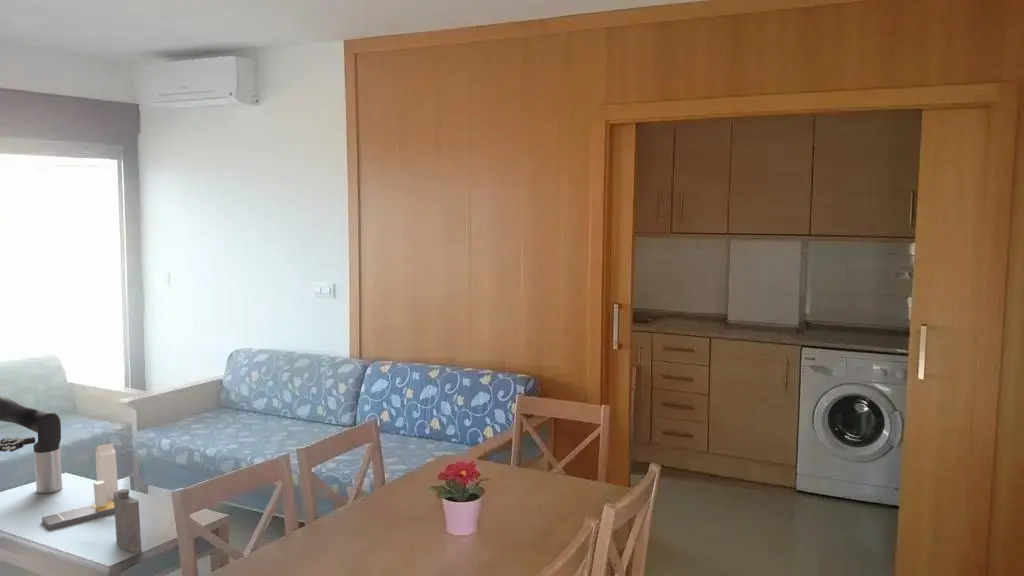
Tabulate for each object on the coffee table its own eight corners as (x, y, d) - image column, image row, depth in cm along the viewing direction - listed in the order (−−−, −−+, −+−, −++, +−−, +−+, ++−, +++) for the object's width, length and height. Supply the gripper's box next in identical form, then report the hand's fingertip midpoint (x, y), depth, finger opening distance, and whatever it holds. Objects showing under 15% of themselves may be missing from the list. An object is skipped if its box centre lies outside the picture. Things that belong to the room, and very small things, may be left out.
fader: (95, 505, 309) (93, 482, 308) (103, 503, 311) (101, 480, 310) (98, 507, 306) (96, 484, 305) (106, 505, 308) (105, 482, 307)
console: (42, 522, 299) (41, 516, 299) (116, 504, 317) (115, 498, 317) (49, 530, 292) (49, 524, 292) (125, 510, 310) (124, 505, 310)
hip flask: (143, 551, 274) (139, 494, 271) (130, 554, 271) (127, 497, 269) (124, 538, 284) (121, 483, 282) (112, 541, 281) (108, 486, 279)
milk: (118, 498, 324) (115, 445, 321) (102, 502, 319) (99, 448, 317) (113, 494, 328) (110, 441, 326) (97, 498, 324) (94, 444, 322)
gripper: (-17, 443, 285) (38, 433, 297) (-25, 436, 294) (29, 426, 306) (-15, 464, 286) (40, 453, 298) (-23, 456, 295) (30, 445, 307)
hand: (34, 439), depth 302 cm, fingers closed
